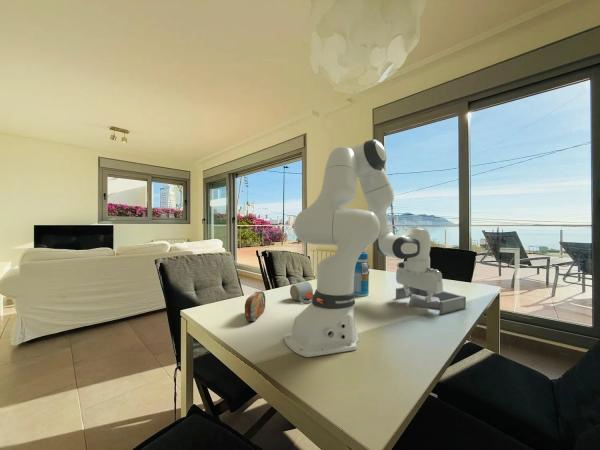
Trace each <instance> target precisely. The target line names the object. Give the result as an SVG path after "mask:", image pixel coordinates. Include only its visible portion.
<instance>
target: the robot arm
mask: <svg viewBox="0 0 600 450" xmlns="http://www.w3.org/2000/svg"><path fill="white" fill-rule="evenodd" d="M386 161H387V153H386V149H385V148H384V145H383V143H382V142H381V141H380V140H377V139H370V140H367V141H364V142H362V143H361V144H357V145H355V146H352V147H350V148H349V147H347V146H338V147H336V148H334V149H332V150H331V152H330V154H329V156H328V158H327V161H326V165H325V168H324V174H323V180H322V181H323V182H322V185H321V190H320V193H319V194H318V196H317V197H316V199H315V201H314V202H313V203H311V204H310V205H309V206H308V207H307V208H305V209H303V210H302V211H300V212H299V213H298V214H297V215H296V217H295V219H294V223H293V230H294V233H295V236H296V237H297V239H298V240H299V241H300V242H303V243H306V244H311V245H318V246H319V245H321V246H324V245H325V246H336V247H337V250H336V252H335V253H334V254H332V255H329V256H327V257H325V258H324V259H321V261H320V262H318V265H317V267H316V289H315V291H314V292H313V293H311V292H306V295H305V297H306V298H308V299H307V300H311V299H312V302H311V303H309V304H308V306H307V307H305V308H304V310H302V311H301V312H300V313H299V314H298V315H297V316H296V317H295V318H294V320H293V322H292V327H291V331H289V332H286V333H285V334H284V337H283V338H284V343H285V345H286V346H287V347H288V348H289V349H290V350H291V351H292V352H294V353H295V354H297V355H299V356H301V357H305V358H312V357H313V358H314V357H318V356H325V355H331V354H336V353H337V354H339V353H344V352H349V351H350V352H351V351H355V350H357V347H358V345H357V343H358V341H359V339H360V338H359V334H358V332H357V331H358V330H357V325H356V319H355V309H354V306H355V303H356V295H355V292H354V290H353V284H354V271H355V266H356V262H357V260H358V258H359V256H360V255H361V253H362V252H365V250H366V249H367V248H368V247H369V246H371V245H372V244H374V243H375V244H376V245H375V246H376V250H377V251H378V252H379V254H380V255H381V256H384V257H388V258H389V257H390V258H393V259H394V258H395V259H397V260H398V259H399V260H404V261H401V262H397V263H396V267H397V268H396V273H395V280H396V284H399V285H402V287H403V288H404V290H405V292H406V293H405V295H406V296H411V292H410V291H409V288H408V287H409V286H410V287H413V288H417V289H420V290H424V291H427V294H429V295H428V296H427V297H425V302H428V303H429V302H431V297H432V296H433V295H434V293H435V294H438V293H441V292H442V291H444V287H443V274H442V272H441V271H439V269H436V268H435V269H434V268H433V267H432V268H431V257H430V252H431V235H430V232H429V230H428V229H427V228H423V227H417V226H415V227H414V226H410V227H409V229H407V230H406V231H404V232H402V233H400V234H394V233H393V232H392V231H391V229H390V225H389V221H388V219H387V214H386V213H387V210H388V208H389V207H390V206H391V205H392V203H393V202H394V199H395V193H394V189H393V187H392V184H391V182H390V181H391V180H390V179H389V177H388V174H387V173H386V170H385V169H384V166H385V164H386ZM358 179H359V180H358ZM358 181H359V184H360V187H361V190H362V193H363V196H364V198H365V201H366V204H367V206H368V207H367V208H368V210H367V209H361V208H344V207H346V206H348V205H349V204H351V203H352V202H353V201H354V200H355V198H356V195H357V188H358V187H357V186H358Z"/></svg>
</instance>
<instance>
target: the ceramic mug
mask: <svg viewBox="0 0 600 450" xmlns="http://www.w3.org/2000/svg"><path fill="white" fill-rule="evenodd" d="M306 292H311V293H313V294H314V290H313V287H312V284H311V283H310V282H309V281H302V282H298V283H293V284H292V285H291V286H290V289H289V294H290V296H291V299H292V300H293V301H297V302H301V303H302V304H308V305H309V304H311V303H312V299H308V298H306V297H305V295H306Z"/></svg>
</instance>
